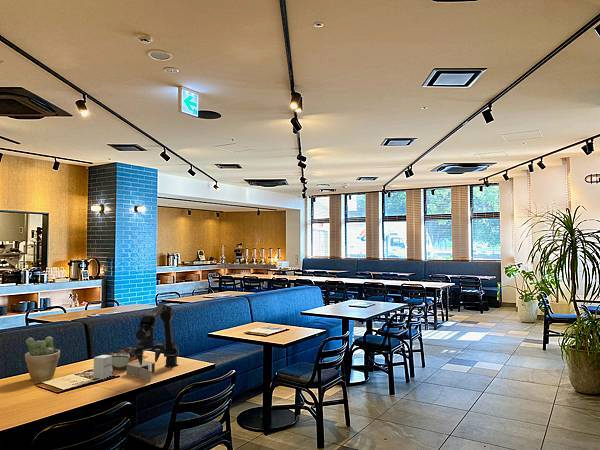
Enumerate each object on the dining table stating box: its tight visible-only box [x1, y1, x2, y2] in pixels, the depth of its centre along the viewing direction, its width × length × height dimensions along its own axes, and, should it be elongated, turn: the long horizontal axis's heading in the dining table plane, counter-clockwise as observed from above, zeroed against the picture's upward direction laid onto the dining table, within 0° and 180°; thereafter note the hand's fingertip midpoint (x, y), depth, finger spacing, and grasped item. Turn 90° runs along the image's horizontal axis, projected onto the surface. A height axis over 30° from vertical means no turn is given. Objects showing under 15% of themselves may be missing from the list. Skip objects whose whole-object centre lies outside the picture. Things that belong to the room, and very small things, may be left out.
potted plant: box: [24, 336, 61, 382], centre depth 268 cm, size 18×19×25 cm
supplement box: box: [92, 354, 113, 380], centre depth 269 cm, size 7×7×13 cm
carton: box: [125, 359, 156, 378], centre depth 277 cm, size 12×12×6 cm
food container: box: [111, 352, 130, 372], centre depth 287 cm, size 12×6×10 cm, turn 84°
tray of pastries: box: [107, 346, 148, 364], centre depth 306 cm, size 28×17×8 cm, turn 163°
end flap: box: [138, 363, 152, 382], centre depth 265 cm, size 12×1×10 cm, turn 51°
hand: (148, 363), depth 261 cm, fingers open, 9 cm apart
